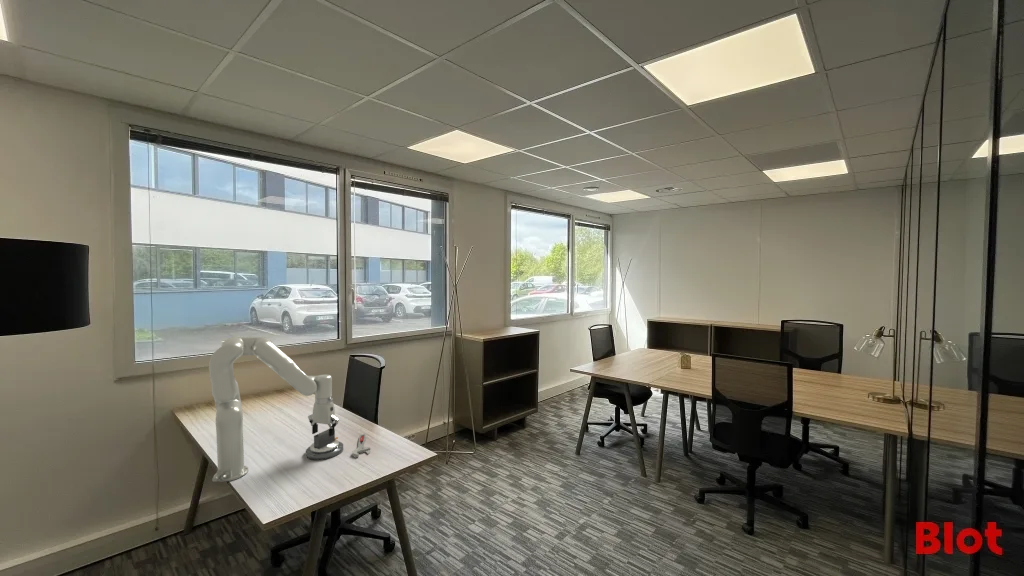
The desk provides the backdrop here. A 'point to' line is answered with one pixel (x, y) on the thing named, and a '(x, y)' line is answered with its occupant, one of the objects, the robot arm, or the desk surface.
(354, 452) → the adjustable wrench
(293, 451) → the desk surface
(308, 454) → the dial base
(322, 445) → the dial
